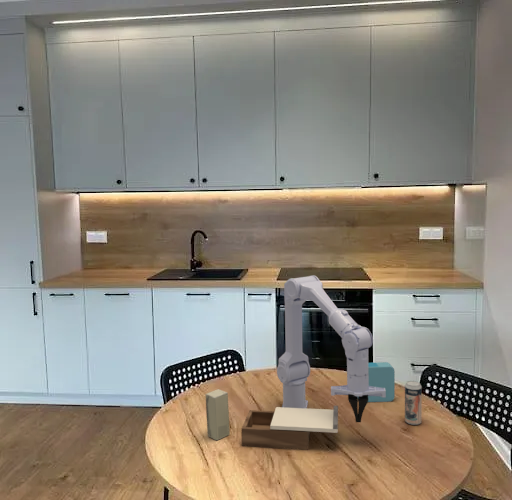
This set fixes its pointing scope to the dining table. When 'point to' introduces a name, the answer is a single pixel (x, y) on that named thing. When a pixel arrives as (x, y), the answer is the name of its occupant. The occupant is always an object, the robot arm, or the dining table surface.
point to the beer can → (413, 402)
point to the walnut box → (271, 433)
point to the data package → (382, 380)
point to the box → (217, 414)
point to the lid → (305, 419)
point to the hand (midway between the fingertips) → (358, 420)
